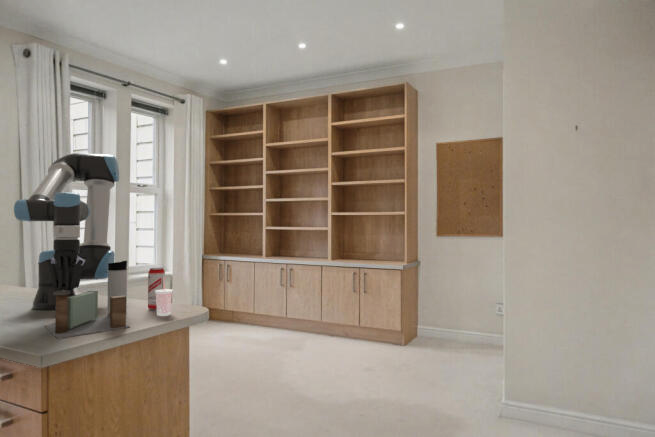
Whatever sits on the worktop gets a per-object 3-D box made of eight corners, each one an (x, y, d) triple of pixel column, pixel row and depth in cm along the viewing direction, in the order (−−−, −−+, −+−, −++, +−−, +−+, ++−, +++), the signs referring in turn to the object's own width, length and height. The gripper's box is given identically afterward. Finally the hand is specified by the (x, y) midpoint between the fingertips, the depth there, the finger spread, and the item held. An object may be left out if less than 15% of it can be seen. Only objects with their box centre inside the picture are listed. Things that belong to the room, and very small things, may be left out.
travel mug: (119, 317, 153) (120, 261, 154) (103, 316, 155) (104, 261, 155) (131, 314, 160) (131, 260, 160) (115, 313, 161) (115, 259, 161)
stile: (109, 327, 139) (109, 296, 139) (122, 325, 142) (122, 295, 142) (112, 329, 136) (113, 298, 136) (125, 327, 139) (126, 296, 139)
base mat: (44, 326, 140) (44, 325, 140) (110, 317, 154) (110, 316, 154) (58, 338, 125) (58, 337, 125) (129, 327, 139) (129, 326, 139)
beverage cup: (160, 317, 154) (160, 278, 155) (151, 314, 158) (152, 276, 159) (175, 314, 159) (176, 276, 159) (167, 312, 163) (167, 275, 163)
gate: (61, 328, 133) (61, 298, 133) (89, 318, 148) (89, 290, 148) (70, 328, 133) (70, 298, 133) (97, 318, 148) (97, 290, 148)
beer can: (152, 307, 172) (152, 267, 172) (167, 307, 172) (167, 267, 172) (144, 310, 166) (145, 269, 166) (160, 310, 166) (161, 269, 166)
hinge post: (51, 333, 131) (52, 291, 131) (68, 331, 134) (68, 290, 134) (54, 336, 128) (55, 293, 128) (71, 333, 131) (72, 291, 131)
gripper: (40, 239, 141) (39, 311, 141) (77, 239, 140) (76, 312, 139) (57, 238, 148) (56, 306, 148) (92, 238, 147) (91, 307, 147)
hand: (65, 309), depth 144 cm, fingers closed
